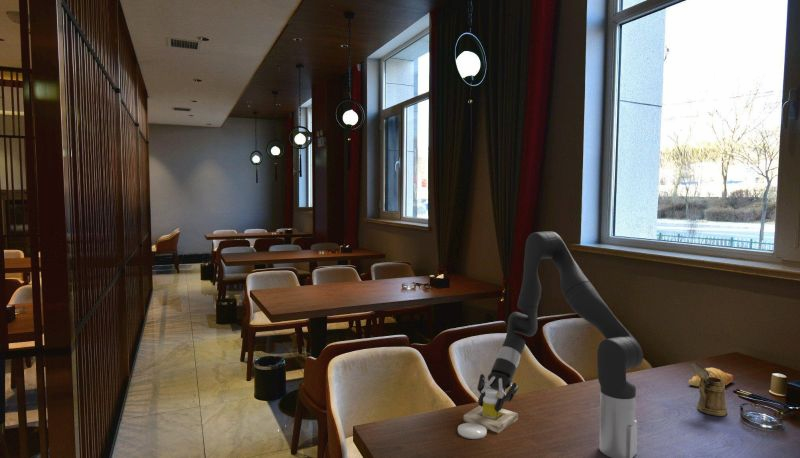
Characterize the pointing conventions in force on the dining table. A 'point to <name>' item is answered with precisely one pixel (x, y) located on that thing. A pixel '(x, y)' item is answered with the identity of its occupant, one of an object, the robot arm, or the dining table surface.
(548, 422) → the dining table surface
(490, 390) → the supplement bottle
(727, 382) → the croissant
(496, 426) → the square wooden frame
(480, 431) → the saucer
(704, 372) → the wooden mug
